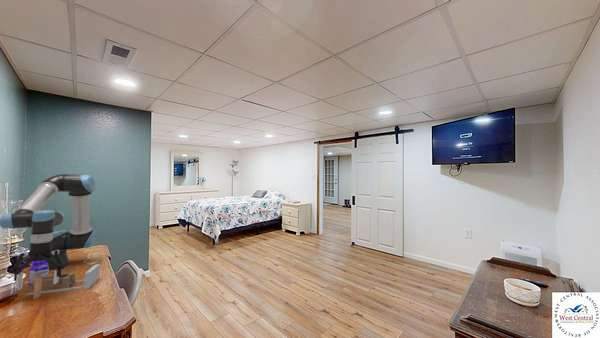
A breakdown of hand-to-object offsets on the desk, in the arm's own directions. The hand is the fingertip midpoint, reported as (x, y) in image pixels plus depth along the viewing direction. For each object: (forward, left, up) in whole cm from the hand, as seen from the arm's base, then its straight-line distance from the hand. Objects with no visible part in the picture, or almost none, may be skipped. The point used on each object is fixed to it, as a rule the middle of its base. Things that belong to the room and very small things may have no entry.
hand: (37, 285), depth 115 cm
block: (-10, +2, -6) cm, 12 cm away
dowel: (0, 0, -8) cm, 8 cm away
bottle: (-22, -10, -8) cm, 26 cm away
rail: (-10, +6, -8) cm, 14 cm away
